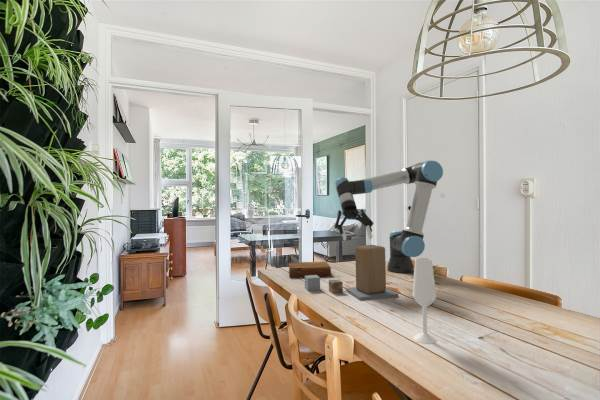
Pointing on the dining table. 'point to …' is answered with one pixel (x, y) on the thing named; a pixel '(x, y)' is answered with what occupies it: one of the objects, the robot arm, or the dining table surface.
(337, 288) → the walnut cube
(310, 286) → the blue grey box
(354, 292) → the slate grey board
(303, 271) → the diary
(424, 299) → the champagne flute
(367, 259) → the wooden block
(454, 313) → the dining table surface
